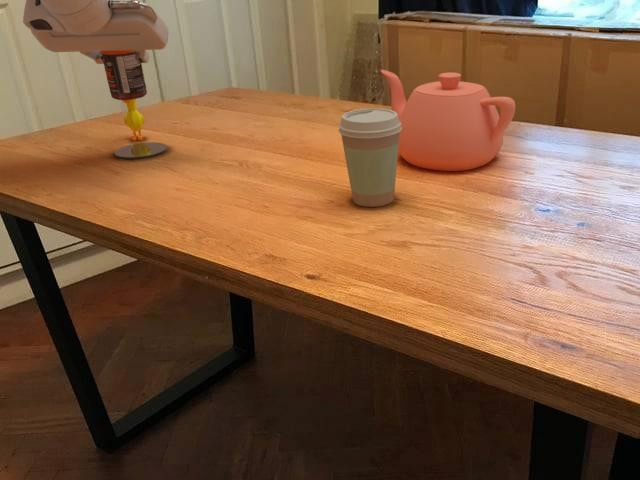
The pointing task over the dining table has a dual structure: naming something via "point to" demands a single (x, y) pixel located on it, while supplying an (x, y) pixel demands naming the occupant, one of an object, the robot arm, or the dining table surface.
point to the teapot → (449, 123)
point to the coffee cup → (371, 154)
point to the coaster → (141, 150)
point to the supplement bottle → (124, 74)
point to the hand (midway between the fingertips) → (123, 60)
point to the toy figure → (134, 119)
